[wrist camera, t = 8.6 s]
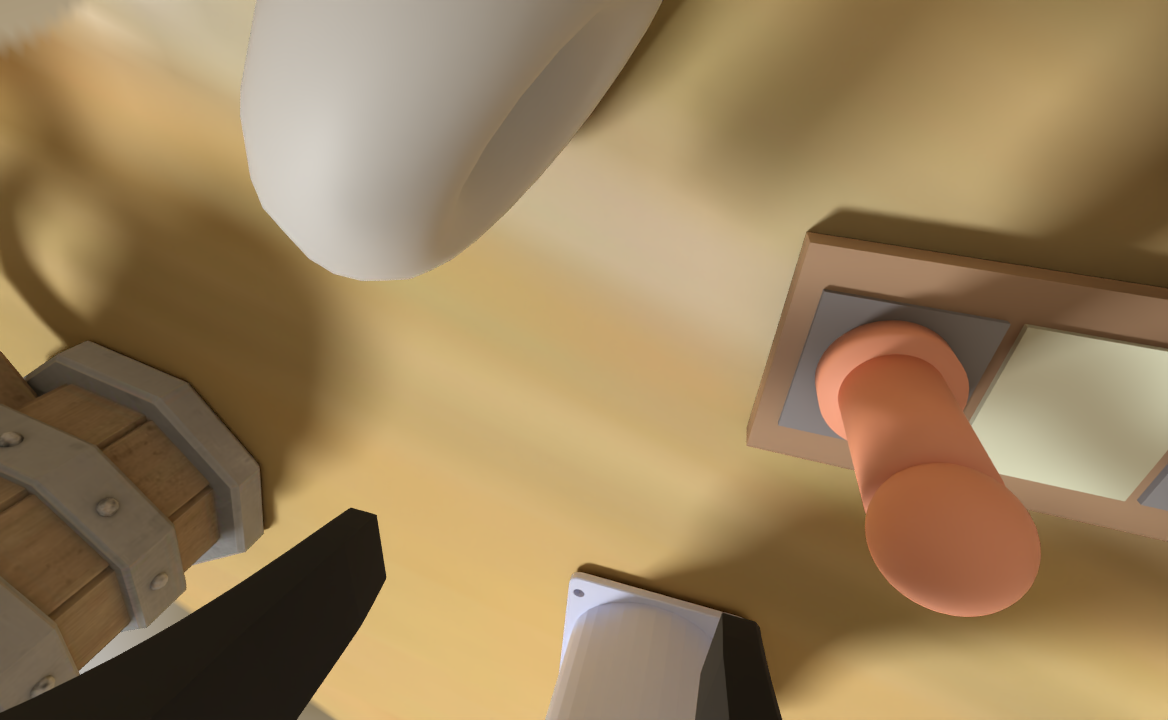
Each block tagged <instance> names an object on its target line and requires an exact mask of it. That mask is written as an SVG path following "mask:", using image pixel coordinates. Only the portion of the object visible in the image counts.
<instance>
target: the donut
mask: <svg viewBox="0 0 1168 720" xmlns="http://www.w3.org/2000/svg"><path fill="white" fill-rule="evenodd" d="M662 1H663V0H256V4H255V10H254V16H253V21H252V27H251V33H250V38H249V44H248V49H247V55H246V61H245V66H244V72H243V77H242V83H241V96H240V117H241V123H242V129H243V135H244V141H245V147H246V153H247V159H248V165H249V171H250V177H251V181H252V183H253V185H254V188H255V190H256V193H257V195H258V197H259V200H260V202H261V205H262V207H263V209H264V210H265V211H266V212H267V213H268V214H269V215H270V217H271V218H272V219H273V220H274V221H275V222H276V223H277V224H278V226H279V227H280V228H281V229H282V230H283V231H284V232H285V233H286V235H287V236H288V237H289V238H290V239H291V240H292V241H293V242H294V243H295V244H296V245H297V246H298V247H299V249H300V250H301V251H302V252H303V253H304V254H305V255H306V256H307V257H308V258H309V259H310V260H312V261H314V262H315V263H317V264H319V265H320V266H322V267H323V268H325V269H327V270H328V271H330V272H332V273H333V274H337V275H340V276H344V277H348V278H352V279H356V280H360V281H380V280H402V279H411V278H413V277H416V276H418V275H421V274H423V273H426V272H428V271H431V270H433V269H434V268H436V267H438V266H440V265H442V264H444V263H446V262H448V261H450V260H452V259H453V258H454V257H456V256H457V255H458V254H460V253H461V252H462V251H463V250H465V249H466V248H467V247H469V246H470V245H471V244H472V243H474V242H475V241H476V240H478V239H479V238H480V237H481V236H482V235H483V234H484V233H485V232H486V231H487V230H488V229H489V228H490V227H491V226H493V225H494V224H495V223H496V222H497V221H498V220H499V219H500V218H501V217H502V216H503V215H504V214H505V213H506V212H507V211H508V210H509V209H510V208H511V207H512V206H513V205H514V204H515V203H516V202H517V201H518V200H519V199H520V198H521V196H522V195H523V194H524V193H525V192H526V191H527V190H528V189H529V188H530V187H531V186H532V185H533V184H534V183H535V182H536V181H537V179H538V178H539V177H540V176H541V175H542V174H543V173H544V171H545V170H546V169H547V168H548V167H549V166H550V164H551V163H552V162H553V161H554V160H555V158H556V157H557V156H558V155H559V154H560V153H561V151H562V150H563V149H564V148H565V147H566V145H567V144H568V143H569V142H570V140H571V139H572V138H573V136H574V135H575V134H576V133H577V131H578V130H579V129H580V127H581V126H582V125H583V124H584V122H585V121H586V120H587V118H588V117H589V116H590V115H591V113H592V112H593V110H594V109H595V108H596V106H597V105H598V103H599V102H600V101H601V99H602V98H603V96H604V95H605V93H606V92H607V91H608V89H609V88H610V86H611V85H612V83H613V82H614V81H615V79H616V78H617V76H618V75H619V73H620V72H621V71H622V69H623V68H624V66H625V64H626V63H627V61H628V60H629V58H630V56H631V55H632V53H633V52H634V50H635V48H636V47H637V45H638V44H639V42H640V40H641V39H642V37H643V36H644V34H645V32H646V31H647V29H648V28H649V26H650V24H651V22H652V20H653V18H654V16H655V14H656V13H657V11H658V9H659V7H660V5H661V3H662Z"/></svg>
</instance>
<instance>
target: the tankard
mask: <svg viewBox="0 0 1168 720" xmlns="http://www.w3.org/2000/svg"><path fill="white" fill-rule="evenodd" d="M263 534H264V530H263V514H262V498H261V482H260V467H259V464H258V462H257V461H256V460H255V459H254V458H253V457H252V456H251V454H250V453H249V452H248V451H247V450H246V449H245V447H244V446H243V445H242V444H241V443H240V442H239V441H238V439H237V438H236V437H235V436H234V435H233V434H232V432H231V431H230V430H229V429H228V428H227V427H226V426H225V424H224V423H223V422H222V421H221V420H220V419H219V417H218V416H217V415H216V414H215V413H214V412H213V411H212V409H211V408H210V407H209V406H208V405H207V404H206V402H205V401H204V400H203V399H202V398H201V397H200V396H199V394H198V393H197V392H196V391H195V390H194V389H193V388H192V386H191V385H190V384H189V383H188V382H185V381H183V380H181V379H178V378H176V377H174V376H171V375H169V374H167V373H164V372H162V371H160V370H157V369H155V368H153V367H150V366H148V365H145V364H143V363H141V362H138V361H136V360H134V359H131V358H129V357H127V356H124V355H122V354H120V353H117V352H115V351H113V350H110V349H108V348H106V347H103V346H101V345H99V344H96V343H93V342H90V341H85V342H83V343H81V344H79V345H76V346H74V347H72V348H70V349H67V350H65V351H63V352H61V353H58V354H57V355H55V356H54V357H53V358H51V359H50V360H48V361H47V362H45V363H44V364H42V365H41V366H39V367H38V368H37V369H35V370H34V371H32V372H31V373H29V374H28V375H26V376H25V377H24V378H23V377H22V376H21V375H20V374H19V372H18V371H17V370H16V369H15V368H14V366H13V365H12V364H11V363H10V362H9V360H8V359H7V358H6V357H5V356H4V354H3V353H2V352H1V351H0V712H3V711H5V710H7V709H9V708H12V707H14V706H16V705H18V704H21V703H23V702H25V701H27V700H30V699H32V698H34V697H36V696H38V695H40V694H42V693H44V692H46V691H48V690H50V689H52V688H54V687H56V686H58V685H60V684H62V683H65V682H67V681H69V680H71V679H73V678H75V677H77V676H79V675H80V674H79V670H80V669H81V668H82V667H84V666H85V665H86V664H87V663H88V662H89V661H90V660H91V659H92V658H93V657H94V656H95V655H96V654H97V653H99V652H100V651H101V650H102V649H103V648H104V647H105V646H106V645H107V644H108V643H109V642H110V641H111V640H112V639H114V638H115V636H117V635H118V634H119V633H120V632H123V631H129V630H135V629H140V628H147V627H148V626H149V625H150V624H151V623H152V622H153V621H154V620H155V619H156V618H157V617H158V616H159V615H160V614H161V613H162V612H163V611H164V610H165V609H167V608H168V607H169V606H170V605H171V604H172V603H173V602H174V601H175V600H176V599H177V598H178V597H179V596H180V595H181V594H182V593H183V592H184V591H185V590H186V580H185V575H184V572H185V571H186V570H187V569H188V568H190V567H191V566H192V565H195V564H199V563H203V562H207V561H211V560H215V559H219V558H223V557H227V556H231V555H235V554H239V553H243V552H246V551H247V550H248V549H249V548H250V547H251V546H252V545H253V544H254V543H255V542H256V541H257V540H258V539H259V538H260V537H261V536H262V535H263Z"/></svg>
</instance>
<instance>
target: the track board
mask: <svg viewBox="0 0 1168 720" xmlns="http://www.w3.org/2000/svg"><path fill="white" fill-rule="evenodd" d="M887 320H899V321H907V322H912V323H916V324H919V325H922V326H924V327H927V328H929V329H930V330H932V331H934V332H935V333H937V334H938V335H940V336H941V337H942V338H943V339H944V340H945V341H946V342H947V344H948V345H949V346H950V348H951V349H952V351H953V352H954V354H955V355H956V357H957V358H958V360H959V361H960V363H961V364H962V366H963V368H964V370H965V372H966V374H967V378H968V381H969V396H968V400H967V404H966V406H965V408H964V410H963V412H964V414H965V416H966V418H967V419H968V421H969V423H970V425H971V426H972V428H973V430H974V431H975V433H976V435H977V437H978V438H979V440H980V442H981V444H982V445H983V447H984V449H985V450H986V452H987V454H988V456H989V457H990V459H991V461H992V463H993V464H994V466H995V468H996V469H997V471H998V473H999V475H1000V476H1001V478H1002V480H1003V482H1004V484H1005V487H1006V488H1008V489H1009V490H1010V491H1011V492H1012V493H1013V494H1014V495H1015V496H1016V497H1017V498H1018V499H1019V500H1020V501H1021V503H1022V504H1023V505H1024V507H1025V508H1026V510H1031V511H1035V512H1040V513H1044V514H1048V515H1053V516H1057V517H1062V518H1066V519H1070V520H1075V521H1079V522H1084V523H1088V524H1092V525H1097V526H1101V527H1106V528H1110V529H1114V530H1119V531H1123V532H1127V533H1132V534H1136V535H1141V536H1145V537H1149V538H1154V539H1158V540H1163V541H1167V542H1168V288H1162V287H1156V286H1149V285H1143V284H1136V283H1130V282H1124V281H1117V280H1111V279H1105V278H1098V277H1092V276H1086V275H1079V274H1073V273H1067V272H1060V271H1054V270H1047V269H1041V268H1035V267H1028V266H1022V265H1016V264H1009V263H1003V262H997V261H990V260H984V259H978V258H971V257H965V256H958V255H952V254H946V253H939V252H933V251H927V250H920V249H914V248H908V247H901V246H895V245H889V244H882V243H876V242H869V241H863V240H857V239H850V238H844V237H838V236H831V235H825V234H819V233H812V232H807V233H806V236H805V239H804V242H803V246H802V249H801V252H800V255H799V259H798V262H797V265H796V268H795V272H794V275H793V278H792V282H791V285H790V288H789V291H788V295H787V298H786V301H785V304H784V308H783V311H782V314H781V318H780V321H779V324H778V327H777V331H776V334H775V337H774V340H773V344H772V347H771V350H770V354H769V357H768V360H767V363H766V367H765V370H764V373H763V376H762V380H761V383H760V386H759V389H758V393H757V396H756V399H755V403H754V406H753V409H752V412H751V416H750V419H749V422H748V425H747V446H750V447H754V448H759V449H763V450H767V451H772V452H776V453H780V454H785V455H789V456H794V457H798V458H802V459H807V460H811V461H816V462H820V463H824V464H829V465H833V466H838V467H842V468H846V469H851V470H854V466H853V462H852V457H851V453H850V449H849V445H848V441H847V440H845V439H843V438H842V437H840V436H839V435H837V434H836V433H835V432H834V431H833V430H832V429H831V428H830V427H829V426H828V424H827V423H826V422H825V420H824V418H823V416H822V414H821V411H820V408H819V403H818V398H817V392H816V387H815V372H816V368H817V365H818V362H819V360H820V358H821V356H822V355H823V353H824V352H825V350H826V349H827V348H828V347H829V346H830V345H831V344H832V343H833V342H834V341H835V340H836V339H837V338H839V337H840V336H842V335H843V334H845V333H846V332H848V331H850V330H852V329H854V328H857V327H859V326H862V325H865V324H868V323H872V322H877V321H887Z"/></svg>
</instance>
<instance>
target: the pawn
mask: <svg viewBox="0 0 1168 720" xmlns="http://www.w3.org/2000/svg"><path fill="white" fill-rule="evenodd" d="M815 387H816V392H817V398H818V403H819V408H820V411H821V414H822V416H823V418H824V420H825V422H826V423H827V424H828V426H829V427H830V428H831V429H832V430H833V431H834V432H835V433H836V434H837V435H839V436H840V437H842V438H843V439H845V440H847V441H848V445H849V449H850V453H851V457H852V462H853V466H854V470H855V474H856V478H857V482H858V486H859V490H860V494H861V498H862V502H863V506H864V510H865V512H866V518H865V534H866V540H867V545H868V548H869V551H870V554H871V556H872V558H873V560H874V562H875V564H876V566H877V567H878V569H879V570H880V572H881V573H882V574H883V576H884V577H885V578H886V579H887V580H888V582H889V583H890V584H891V585H892V586H893V587H894V588H896V589H897V590H898V591H899V592H900V593H902V594H903V595H904V596H906V597H907V598H909V599H910V600H912V601H913V602H915V603H917V604H919V605H921V606H923V607H925V608H928V609H930V610H933V611H936V612H939V613H943V614H948V615H953V616H961V617H975V616H983V615H989V614H993V613H996V612H999V611H1001V610H1003V609H1005V608H1007V607H1009V606H1011V605H1012V604H1014V603H1016V602H1017V601H1018V600H1019V599H1021V598H1022V597H1023V596H1024V594H1025V593H1026V592H1027V591H1028V590H1029V589H1030V587H1031V586H1032V584H1033V582H1034V580H1035V578H1036V576H1037V574H1038V571H1039V566H1040V560H1041V546H1040V540H1039V536H1038V532H1037V528H1036V526H1035V524H1034V522H1033V520H1032V518H1031V516H1030V514H1029V512H1028V511H1027V510H1026V508H1025V507H1024V505H1023V504H1022V503H1021V501H1020V500H1019V499H1018V498H1017V497H1016V496H1015V495H1014V494H1013V493H1012V492H1011V491H1010V490H1009V489H1008V488H1006V487H1005V484H1004V482H1003V480H1002V478H1001V476H1000V475H999V473H998V471H997V469H996V468H995V466H994V464H993V463H992V461H991V459H990V457H989V456H988V454H987V452H986V450H985V449H984V447H983V445H982V444H981V442H980V440H979V438H978V437H977V435H976V433H975V431H974V430H973V428H972V426H971V425H970V423H969V421H968V419H967V418H966V416H965V414H964V412H963V410H964V408H965V406H966V404H967V400H968V396H969V381H968V378H967V374H966V372H965V370H964V368H963V366H962V364H961V363H960V361H959V360H958V358H957V357H956V355H955V354H954V352H953V351H952V349H951V348H950V346H949V345H948V344H947V342H946V341H945V340H944V339H943V338H942V337H941V336H940V335H938V334H937V333H935V332H934V331H932V330H930V329H929V328H927V327H924V326H922V325H919V324H916V323H912V322H907V321H899V320H887V321H877V322H872V323H868V324H865V325H862V326H859V327H857V328H854V329H852V330H850V331H848V332H846V333H845V334H843V335H842V336H840V337H839V338H837V339H836V340H835V341H834V342H833V343H832V344H831V345H830V346H829V347H828V348H827V349H826V350H825V352H824V353H823V355H822V356H821V358H820V360H819V362H818V365H817V368H816V372H815Z"/></svg>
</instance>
